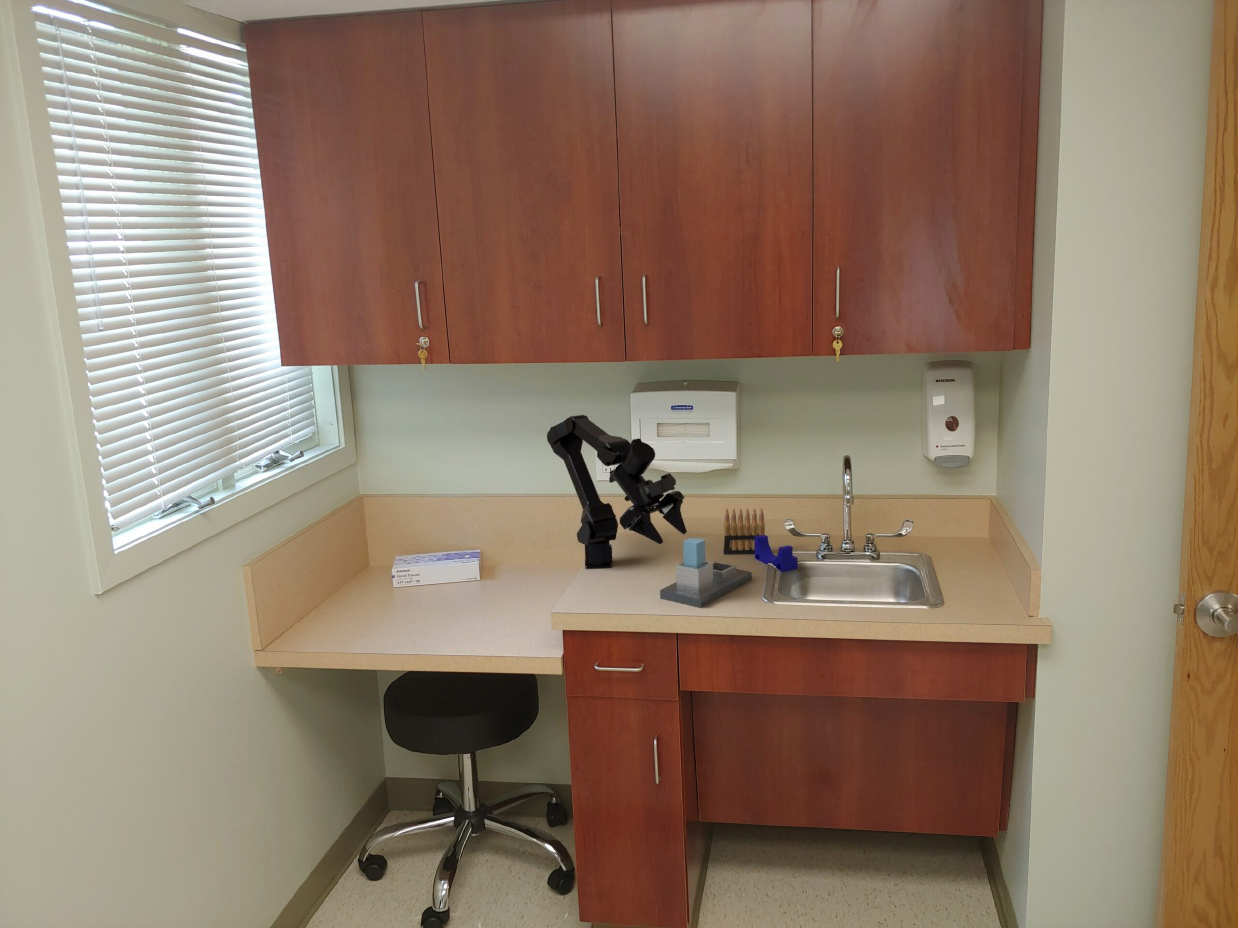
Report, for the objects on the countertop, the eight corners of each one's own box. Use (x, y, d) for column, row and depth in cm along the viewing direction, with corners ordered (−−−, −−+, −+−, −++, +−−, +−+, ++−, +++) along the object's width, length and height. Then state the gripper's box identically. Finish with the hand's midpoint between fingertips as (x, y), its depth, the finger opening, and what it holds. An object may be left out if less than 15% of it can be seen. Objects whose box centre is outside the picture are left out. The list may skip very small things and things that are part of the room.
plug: (696, 573, 220) (696, 543, 219) (683, 570, 222) (683, 541, 221) (705, 569, 223) (705, 539, 222) (692, 566, 225) (692, 537, 224)
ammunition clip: (723, 554, 253) (723, 509, 250) (723, 552, 255) (722, 507, 252) (765, 554, 252) (765, 509, 250) (764, 552, 254) (764, 507, 251)
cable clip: (797, 569, 240) (797, 545, 239) (782, 572, 238) (782, 548, 237) (769, 556, 251) (769, 533, 249) (754, 559, 249) (754, 536, 247)
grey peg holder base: (700, 607, 216) (700, 575, 214) (660, 598, 223) (659, 566, 221) (752, 579, 233) (751, 549, 231) (713, 571, 240) (712, 542, 238)
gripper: (627, 472, 217) (669, 527, 213) (676, 457, 232) (716, 508, 227) (602, 502, 224) (641, 556, 219) (651, 485, 238) (689, 535, 234)
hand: (673, 538), depth 225 cm, fingers open, 9 cm apart
